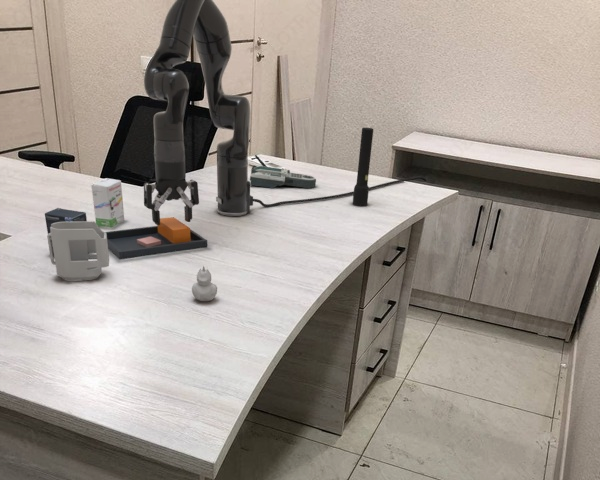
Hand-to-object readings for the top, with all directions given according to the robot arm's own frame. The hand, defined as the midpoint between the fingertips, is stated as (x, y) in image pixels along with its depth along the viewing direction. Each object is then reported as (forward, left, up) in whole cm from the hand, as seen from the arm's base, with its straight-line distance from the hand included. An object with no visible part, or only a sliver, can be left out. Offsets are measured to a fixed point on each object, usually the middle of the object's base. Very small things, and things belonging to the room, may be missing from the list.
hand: (172, 222), depth 164 cm
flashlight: (-73, -13, -6) cm, 75 cm away
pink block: (+7, 0, -5) cm, 8 cm away
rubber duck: (+9, +38, -6) cm, 39 cm away
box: (+27, -1, -6) cm, 27 cm away
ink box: (+10, -22, -6) cm, 25 cm away
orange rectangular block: (0, 0, -5) cm, 5 cm away
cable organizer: (+28, +15, -6) cm, 32 cm away
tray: (+6, 0, -5) cm, 8 cm away
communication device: (-62, -45, -6) cm, 77 cm away
